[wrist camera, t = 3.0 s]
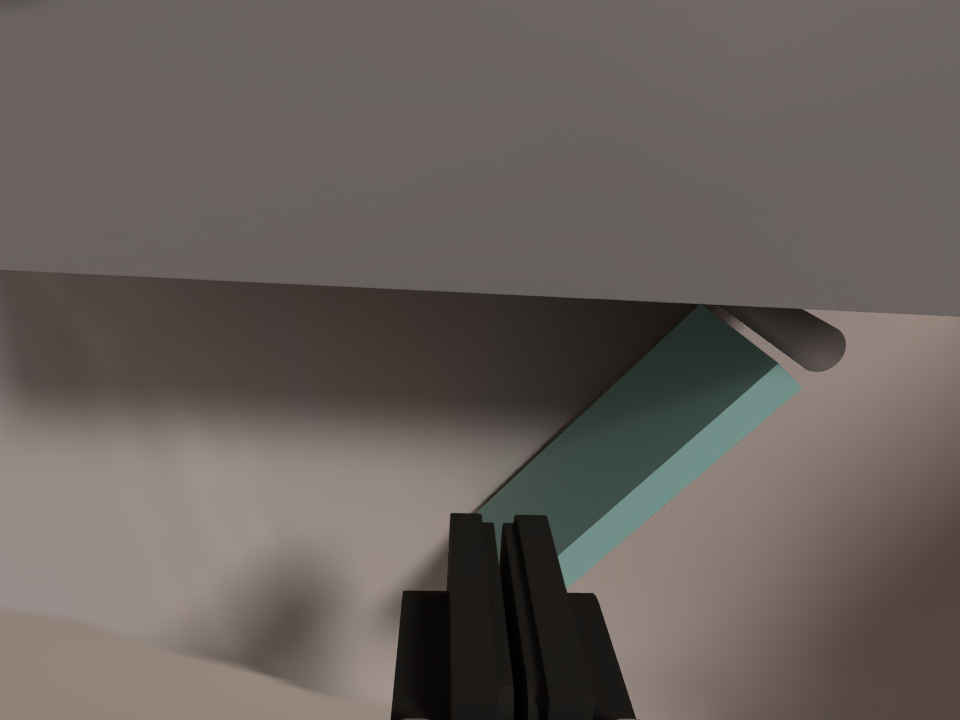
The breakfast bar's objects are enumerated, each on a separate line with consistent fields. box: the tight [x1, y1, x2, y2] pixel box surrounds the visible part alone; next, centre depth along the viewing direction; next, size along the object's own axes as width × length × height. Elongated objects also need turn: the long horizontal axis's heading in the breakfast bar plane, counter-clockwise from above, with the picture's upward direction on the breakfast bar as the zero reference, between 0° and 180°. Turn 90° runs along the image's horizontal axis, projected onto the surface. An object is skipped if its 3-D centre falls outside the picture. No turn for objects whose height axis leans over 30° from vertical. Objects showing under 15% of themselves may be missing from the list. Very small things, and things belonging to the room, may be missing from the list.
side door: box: [477, 304, 846, 589], centre depth 17 cm, size 10×2×5 cm, turn 137°
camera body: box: [0, 0, 960, 317], centre depth 12 cm, size 20×10×8 cm, turn 87°
